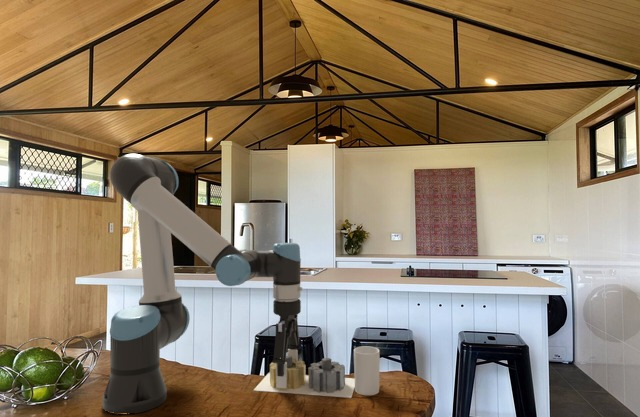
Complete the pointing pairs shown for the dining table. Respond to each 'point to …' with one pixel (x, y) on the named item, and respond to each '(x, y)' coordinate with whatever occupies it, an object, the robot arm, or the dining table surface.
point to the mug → (366, 370)
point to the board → (305, 389)
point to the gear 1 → (290, 375)
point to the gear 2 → (326, 377)
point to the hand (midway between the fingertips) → (287, 379)
